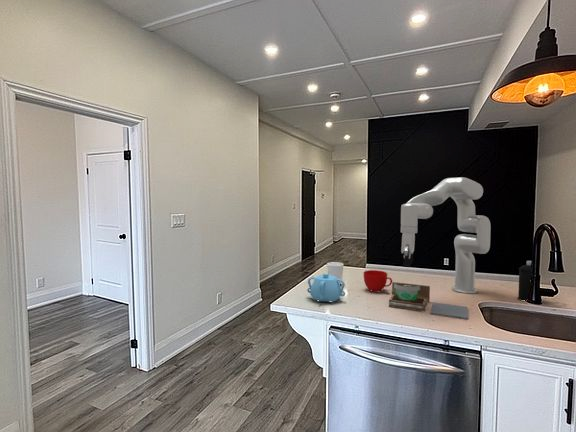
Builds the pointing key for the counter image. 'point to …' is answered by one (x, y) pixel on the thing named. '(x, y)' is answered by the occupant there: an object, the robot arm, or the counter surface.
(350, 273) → the counter surface
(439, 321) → the counter surface
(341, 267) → the cup
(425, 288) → the box
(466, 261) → the robot arm
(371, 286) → the ceramic cup
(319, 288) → the decorative pot
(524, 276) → the black bottle
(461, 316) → the mat
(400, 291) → the food container
